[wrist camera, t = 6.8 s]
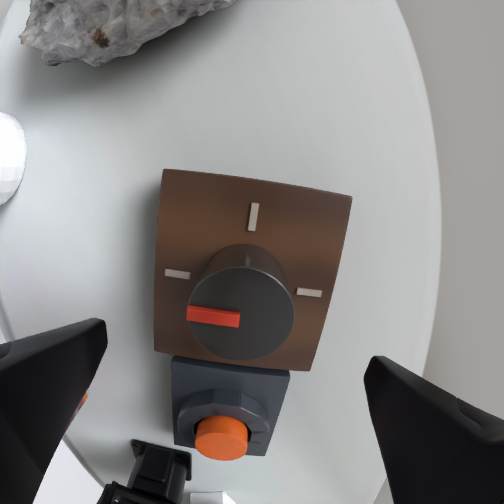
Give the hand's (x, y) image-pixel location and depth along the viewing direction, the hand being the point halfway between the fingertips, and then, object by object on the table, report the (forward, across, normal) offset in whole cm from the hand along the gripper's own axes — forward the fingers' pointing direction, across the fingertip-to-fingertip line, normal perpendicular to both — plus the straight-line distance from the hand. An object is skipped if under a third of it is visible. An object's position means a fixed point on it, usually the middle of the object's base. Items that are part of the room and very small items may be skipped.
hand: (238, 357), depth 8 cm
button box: (+10, 0, +12) cm, 15 cm away
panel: (+10, 0, 0) cm, 10 cm away
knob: (+7, 0, 0) cm, 7 cm away
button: (+6, 0, +12) cm, 13 cm away
